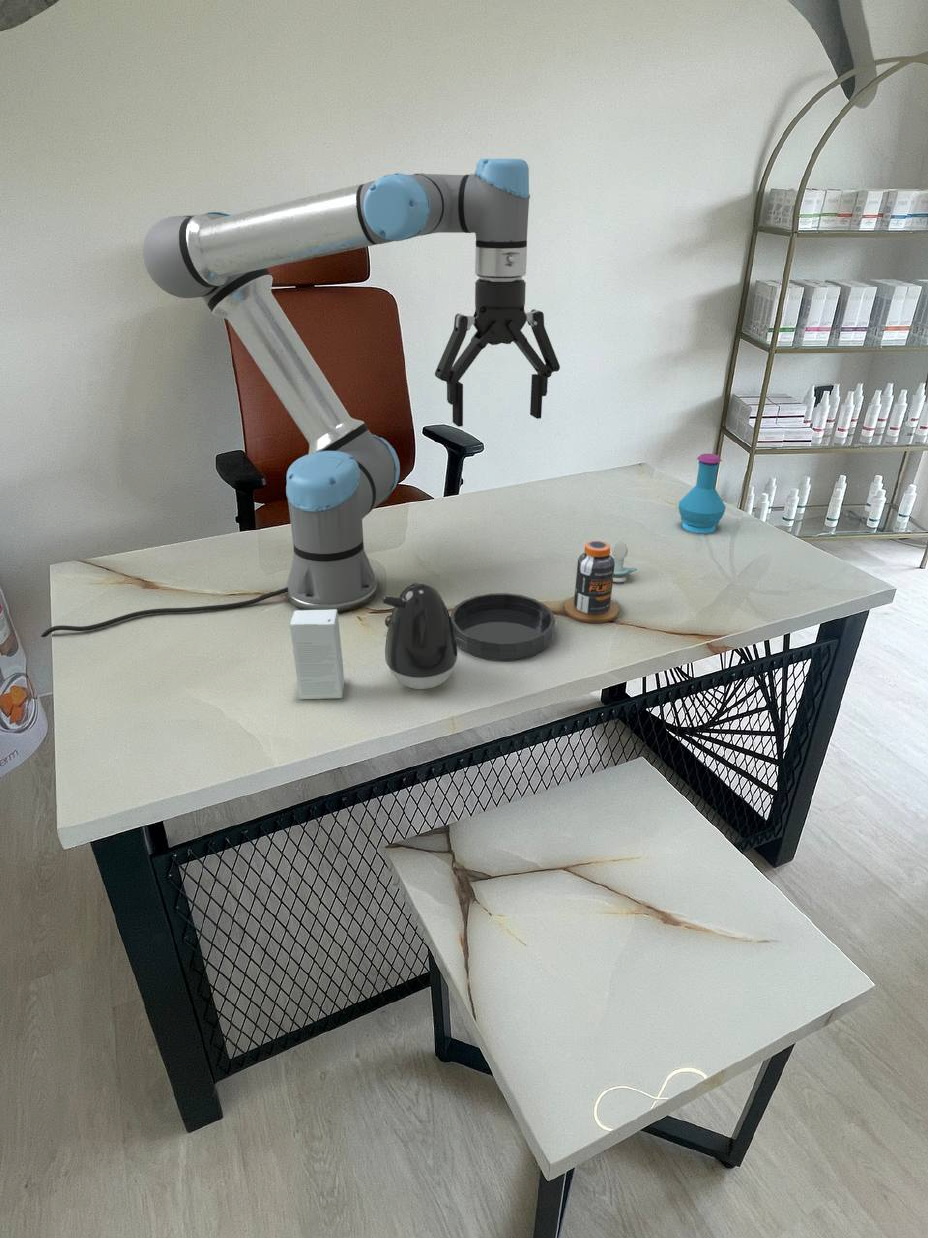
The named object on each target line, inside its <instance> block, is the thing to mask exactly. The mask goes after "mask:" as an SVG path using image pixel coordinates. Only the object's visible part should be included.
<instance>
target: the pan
mask: <svg viewBox="0 0 928 1238" xmlns="http://www.w3.org/2000/svg"><path fill="white" fill-rule="evenodd" d="M449 615H450V617H451V621H452V624H453V628H454V632H455V638H456V644H457V648H458V649H460V650H461V651H462V652H464V653H467V654H468V655H470V656H473V657H476V658H479V659H484V660H491V661H502V662H506V661H507V662H509V661H510V662H511V661H519V660H524V659H525V660H526V659H529V658H531V657H534V656H537V655H539V654H541V653H543V652H545V651H546V650H547V649H548V648H549V647H550V646H551V644H552V643H553V640H554V637H555V630H556V629H555V626H556V619H555V615H554V612H553V611H552V610H551V608H549V607H548V605H546V604H544V603H543V602H541V601H540V600H537V599H536V598H532V597H529V596H525V595H522V594H515V593H509V592H507V593H506V592H494V593H491V592H490V593H486V594H479V595H475V596H471V597H470V598H466V599H463V600H462V601H461V602H459V603H458V604H457V605H455V606H454V608H453V609H452V611H451V612H450V613H449Z"/></svg>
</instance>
